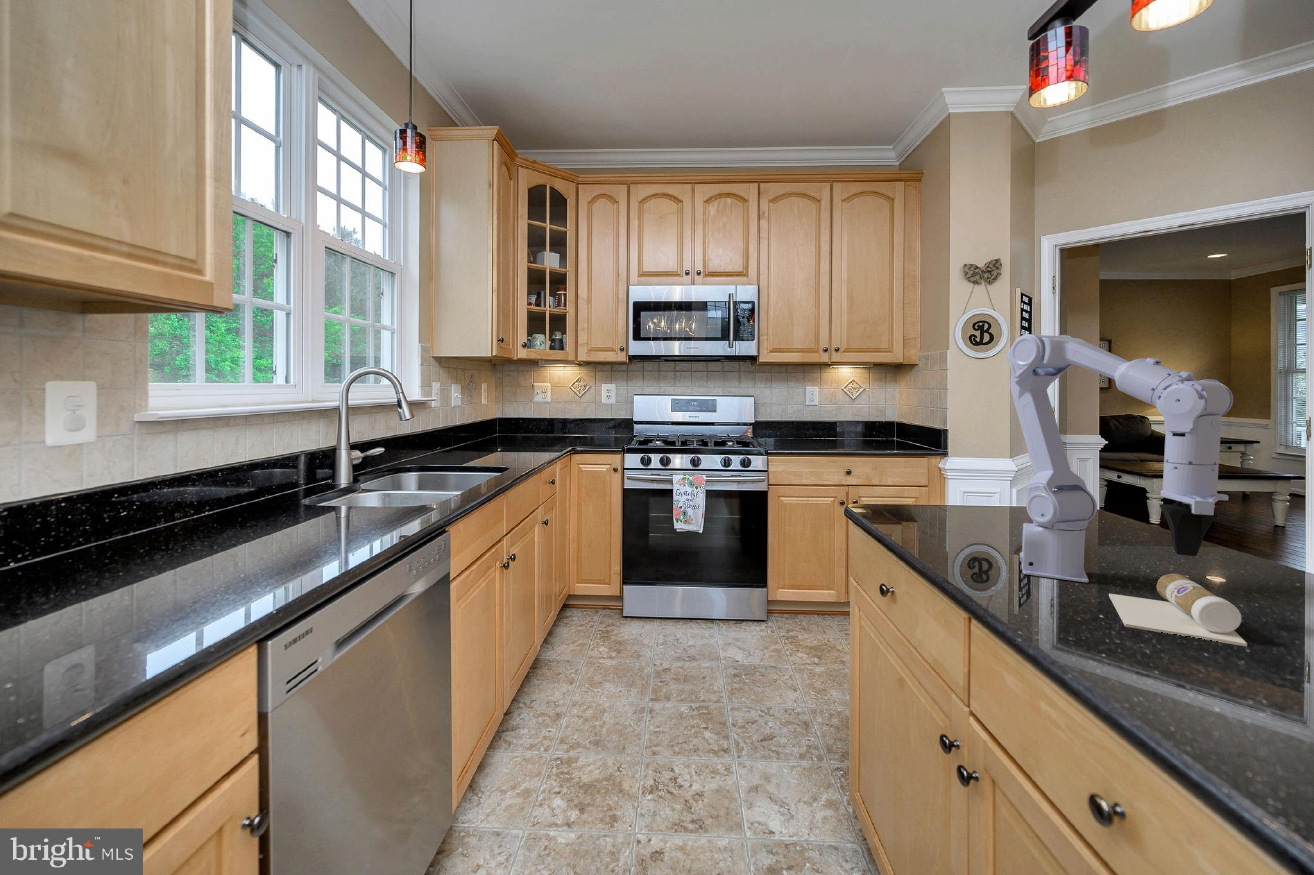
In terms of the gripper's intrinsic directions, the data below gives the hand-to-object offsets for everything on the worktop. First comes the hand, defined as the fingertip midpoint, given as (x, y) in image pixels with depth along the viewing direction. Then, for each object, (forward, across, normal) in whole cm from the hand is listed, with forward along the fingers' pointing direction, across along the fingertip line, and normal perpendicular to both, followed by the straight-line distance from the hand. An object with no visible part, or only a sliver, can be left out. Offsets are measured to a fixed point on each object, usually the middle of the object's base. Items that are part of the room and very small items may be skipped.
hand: (1185, 554), depth 80 cm
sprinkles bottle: (+6, +5, 0) cm, 8 cm away
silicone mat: (+9, -4, +2) cm, 10 cm away
